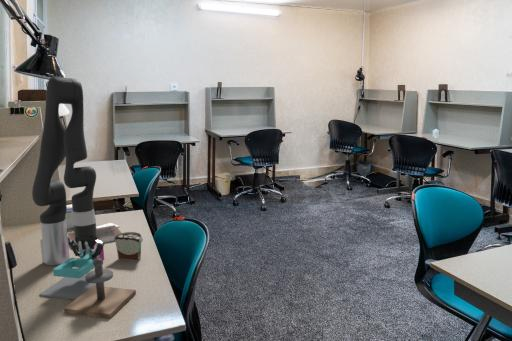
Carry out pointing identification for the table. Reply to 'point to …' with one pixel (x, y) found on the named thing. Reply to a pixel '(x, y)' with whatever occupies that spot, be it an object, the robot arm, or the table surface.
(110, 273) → the stand
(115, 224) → the external hard drive
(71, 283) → the mat
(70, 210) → the light bulb box
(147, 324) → the table surface
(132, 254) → the food container
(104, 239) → the picture frame
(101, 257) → the puzzle toy
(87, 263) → the teal square racket
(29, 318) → the table surface
